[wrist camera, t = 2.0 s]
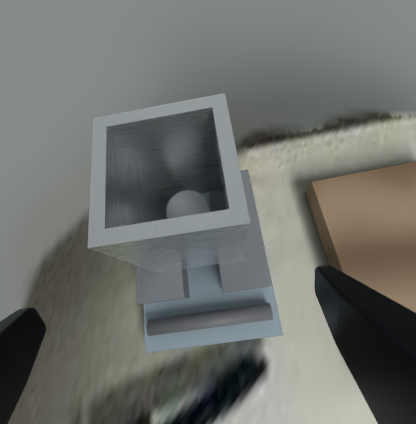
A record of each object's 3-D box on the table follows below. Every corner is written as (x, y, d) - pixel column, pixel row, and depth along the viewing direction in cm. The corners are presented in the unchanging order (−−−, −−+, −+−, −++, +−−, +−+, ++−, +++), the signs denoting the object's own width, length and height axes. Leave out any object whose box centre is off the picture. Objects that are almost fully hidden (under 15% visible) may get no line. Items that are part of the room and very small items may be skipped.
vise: (278, 331, 18) (302, 349, 11) (154, 347, 18) (108, 373, 12) (249, 191, 22) (254, 144, 15) (147, 208, 22) (110, 169, 16)
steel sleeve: (243, 260, 16) (250, 223, 8) (157, 273, 16) (87, 248, 9) (229, 181, 18) (224, 93, 10) (152, 194, 18) (93, 117, 11)
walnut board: (530, 362, 16) (570, 370, 14) (369, 386, 16) (387, 398, 14) (426, 169, 21) (445, 155, 19) (304, 192, 21) (311, 181, 19)
